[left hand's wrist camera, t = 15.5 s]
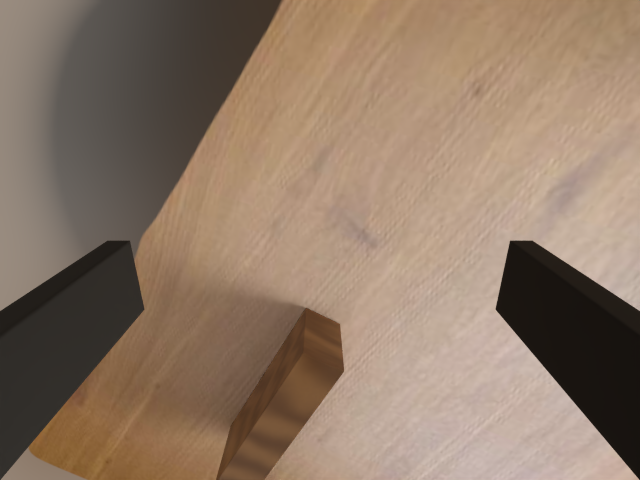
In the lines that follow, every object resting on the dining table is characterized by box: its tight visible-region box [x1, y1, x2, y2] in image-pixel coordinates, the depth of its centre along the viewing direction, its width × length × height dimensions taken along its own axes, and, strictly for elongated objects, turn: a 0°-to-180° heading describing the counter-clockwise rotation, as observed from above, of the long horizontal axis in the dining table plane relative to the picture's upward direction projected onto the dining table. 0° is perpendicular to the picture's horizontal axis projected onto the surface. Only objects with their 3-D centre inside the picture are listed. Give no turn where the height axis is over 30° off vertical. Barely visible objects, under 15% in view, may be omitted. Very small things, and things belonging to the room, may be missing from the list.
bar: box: [216, 308, 344, 480], centre depth 45 cm, size 24×5×9 cm, turn 151°
